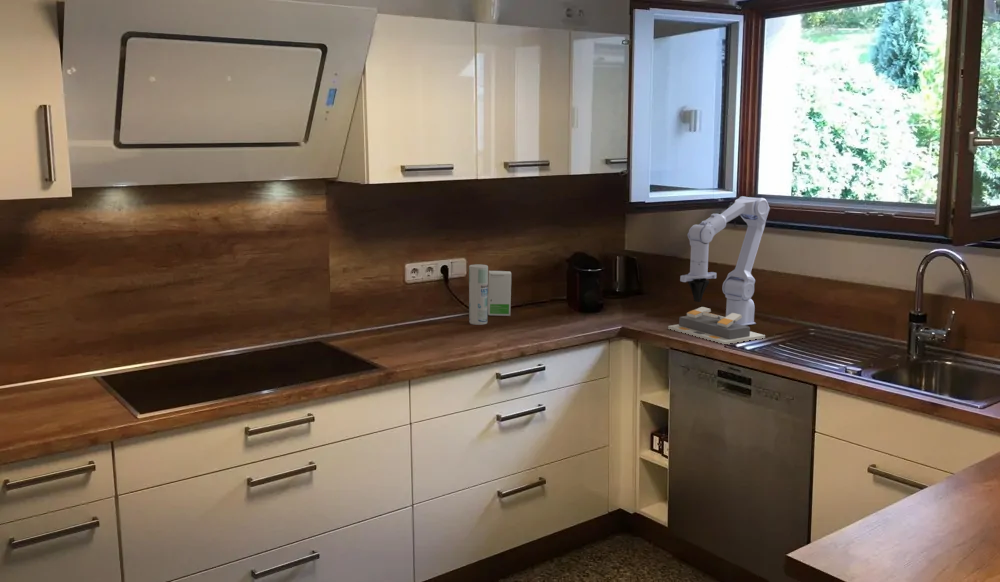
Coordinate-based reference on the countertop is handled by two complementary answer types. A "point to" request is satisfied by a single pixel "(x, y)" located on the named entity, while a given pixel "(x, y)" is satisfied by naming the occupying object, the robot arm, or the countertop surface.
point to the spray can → (478, 294)
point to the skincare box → (499, 293)
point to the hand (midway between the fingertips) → (697, 301)
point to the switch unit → (714, 330)
